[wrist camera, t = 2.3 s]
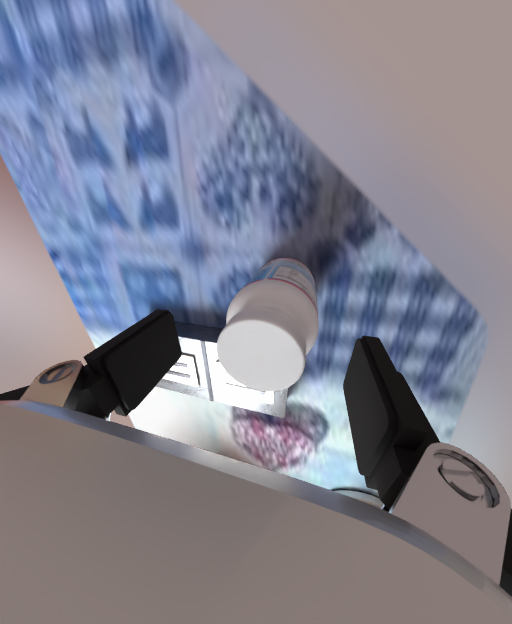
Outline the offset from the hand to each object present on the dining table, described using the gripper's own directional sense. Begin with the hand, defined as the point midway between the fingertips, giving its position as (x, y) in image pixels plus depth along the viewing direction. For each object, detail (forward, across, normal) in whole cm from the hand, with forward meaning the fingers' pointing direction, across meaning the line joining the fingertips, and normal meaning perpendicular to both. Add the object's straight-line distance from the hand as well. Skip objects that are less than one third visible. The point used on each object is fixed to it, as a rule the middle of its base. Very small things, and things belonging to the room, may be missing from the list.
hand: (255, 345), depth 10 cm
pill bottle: (+11, 0, +1) cm, 11 cm away
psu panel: (+11, +8, +12) cm, 18 cm away
